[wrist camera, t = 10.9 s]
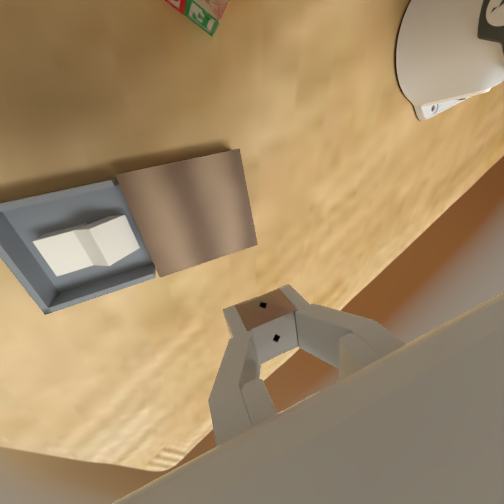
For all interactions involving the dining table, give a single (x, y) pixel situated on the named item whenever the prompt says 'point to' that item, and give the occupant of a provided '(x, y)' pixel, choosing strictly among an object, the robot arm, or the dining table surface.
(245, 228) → the board
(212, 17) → the stack of blocks
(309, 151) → the dining table surface
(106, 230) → the tile
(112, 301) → the dining table surface
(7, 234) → the tray
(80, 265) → the tile
